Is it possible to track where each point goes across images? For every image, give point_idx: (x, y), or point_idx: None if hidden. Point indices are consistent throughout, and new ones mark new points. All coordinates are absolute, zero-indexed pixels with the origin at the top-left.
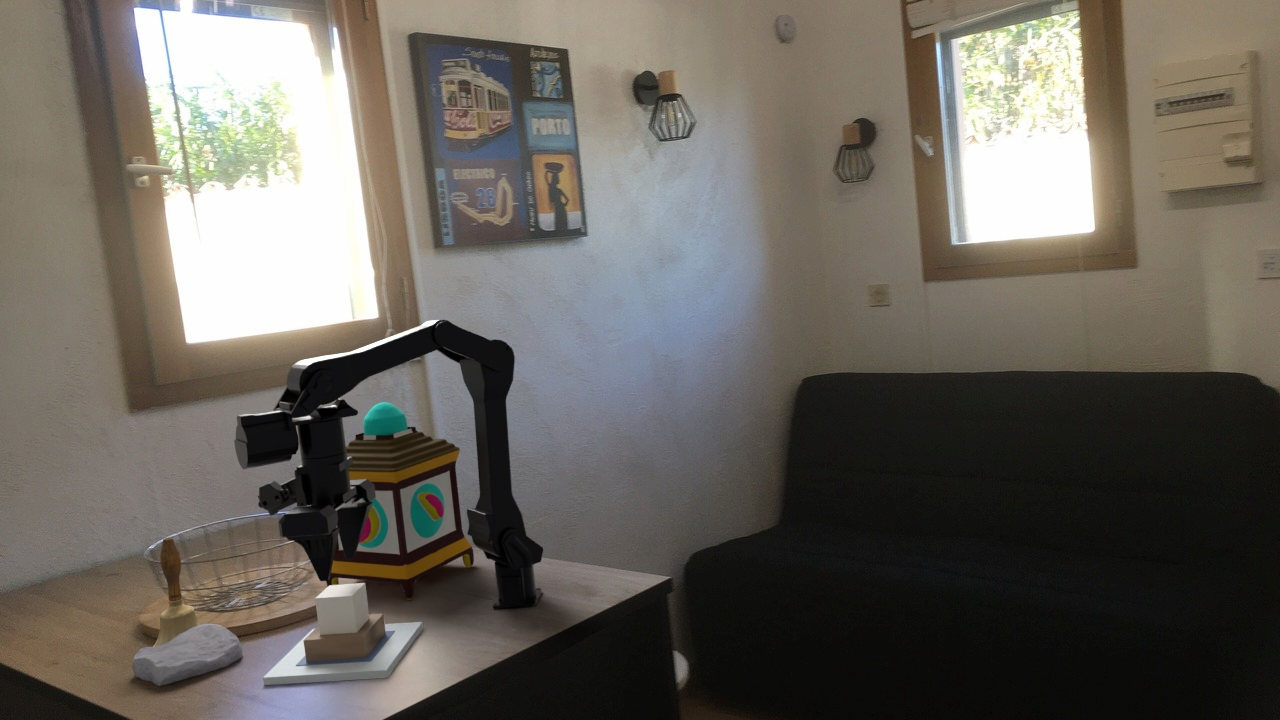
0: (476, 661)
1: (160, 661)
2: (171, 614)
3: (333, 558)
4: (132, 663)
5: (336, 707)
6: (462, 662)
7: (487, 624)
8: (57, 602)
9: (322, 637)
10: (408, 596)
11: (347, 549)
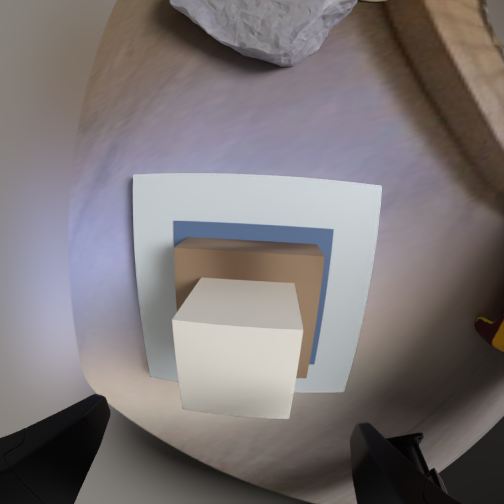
0: (200, 446)
1: None
2: None
3: (83, 476)
4: None
5: (77, 319)
6: (198, 437)
7: (322, 446)
8: None
9: (185, 288)
10: (476, 326)
11: (360, 456)
